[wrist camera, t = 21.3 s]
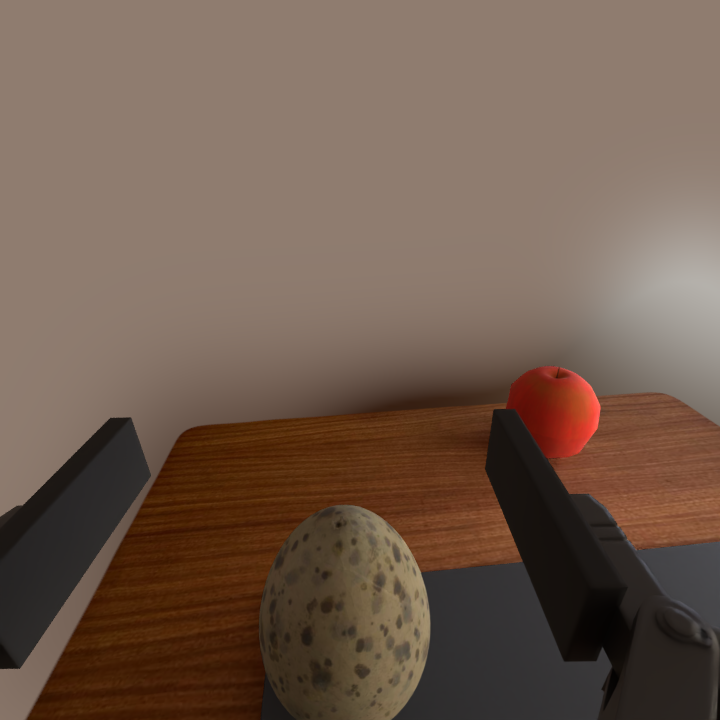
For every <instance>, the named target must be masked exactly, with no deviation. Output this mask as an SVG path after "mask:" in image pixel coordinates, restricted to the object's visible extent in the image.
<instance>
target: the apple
mask: <svg viewBox="0 0 720 720" xmlns="http://www.w3.org/2000/svg"><path fill="white" fill-rule="evenodd" d="M506 409H516V411H517V412H518V414H519V416H520V417H521V419H522V420H523V422H524V424H525V425H526V427H527V428H528V430H529V431H530V433H531V435H532V436H533V438H534V439H535V441H536V442H537V444H538V446H539V447H540V449H541V450H542V452H543V454H544V455H545V457H546V458H561V457H569V456H572V455H575V454H578V453H579V452H580V451H581V449H582V448H583V447H584V445H585V444H586V443H587V441H588V440H589V439H590V437H591V436H592V435H593V433H594V432H595V431H596V429H597V427H598V421H599V414H600V405H599V402H598V400H597V398H596V396H595V394H594V392H593V390H592V388H591V386H590V385H589V384H588V383H587V382H586V381H585V380H584V379H583V378H581V377H580V376H579V375H577V374H575V373H574V372H572V371H569V370H566V369H563V368H560V367H554V366H544V367H539V368H536V369H533V370H530V371H528V372H526V373H525V374H523V375H522V376H521V377H520V378H518V379H517V380H516V381H515V382H514V383H512V385H511V389H510V393H509V398H508V402H507V407H506Z"/></svg>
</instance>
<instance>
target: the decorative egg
mask: <svg viewBox="0 0 720 720" xmlns="http://www.w3.org/2000/svg"><path fill="white" fill-rule="evenodd" d="M259 639H260V649H261V655H262V659H263V664H264V667H265V671H266V673H267V677H268V679H269V681H270V684H271V686H272V688H273V690H274V692H275V694H276V696H277V697H278V699H279V700H280V702H281V703H282V705H283V706H284V707H285V708H286V710H287V711H288V712H289V713H290V714H291V715H292V716H293V717H294V718H295V719H296V720H391V719H392V718H394V717H395V716H396V715H397V714H398V712H399V711H400V710H401V709H402V708H403V707H404V706H405V705H406V703H407V702H408V700H409V699H410V697H411V696H412V694H413V692H414V690H415V689H416V687H417V685H418V682H419V680H420V678H421V675H422V673H423V670H424V666H425V663H426V659H427V654H428V649H429V641H430V611H429V603H428V597H427V593H426V588H425V585H424V582H423V578H422V576H421V573H420V570H419V568H418V565H417V563H416V561H415V559H414V557H413V555H412V553H411V552H410V550H409V548H408V546H407V545H406V543H405V542H404V540H403V539H402V538H401V536H400V535H399V534H398V533H397V532H396V531H395V529H394V528H393V527H392V526H391V525H389V524H388V523H387V522H386V521H385V520H384V519H382V518H381V517H379V516H378V515H376V514H375V513H373V512H371V511H369V510H366V509H364V508H361V507H357V506H353V505H337V506H332V507H328V508H325V509H323V510H320V511H318V512H316V513H315V514H313V515H311V516H310V517H309V518H307V519H306V520H305V521H303V522H302V523H301V524H300V525H299V526H298V527H297V528H296V529H295V530H294V531H293V532H292V533H291V535H290V536H289V537H288V538H287V540H286V541H285V543H284V544H283V546H282V547H281V549H280V551H279V552H278V554H277V556H276V558H275V560H274V562H273V564H272V567H271V569H270V572H269V575H268V577H267V580H266V584H265V587H264V591H263V596H262V601H261V608H260V617H259Z"/></svg>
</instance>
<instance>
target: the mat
mask: <svg viewBox="0 0 720 720" xmlns="http://www.w3.org/2000/svg"><path fill="white" fill-rule="evenodd" d="M636 551H637V552H638V553H639V555H640V556H641V558H642V559H643V560H644V562H645V563H646V565H647V566H648V567H649V569H650V570H651V572H652V573H653V574H654V576H655V577H656V579H657V580H658V581H659V583H660V584H661V586H662V587H663V588H664V590H665V591H666V592H667V594H668V595H669V596H670V597H671V598H673V599H675V600H678V601H681V602H682V603H684V604H685V605H687V606H689V607H690V608H692V609H693V610H695V611H696V612H697V613H698V614H699V615H700V616H701V617H702V618H703V619H704V620H705V621H706V622H707V623H708V624H710V625H713V626H715V627H718V628H720V542H712V543H702V544H692V545H683V546H673V547H663V548H654V549H644V550H636ZM421 576H422V578H423V582H424V585H425V588H426V593H427V597H428V603H429V611H430V641H429V649H428V654H427V659H426V663H425V666H424V670H423V673H422V675H421V678H420V680H419V682H418V685H417V687H416V689H415V690H414V692H413V694H412V696H411V697H410V699H409V700H408V702H407V703H406V705H405V706H404V707H403V708H402V709H401V710H400V711H399V712H398V714H397V715H396V716H395V717H394V718H392V719H391V720H598V716H599V712H600V708H601V704H602V700H603V696H604V691H603V690H601V689H602V687H603V685H604V682H605V680H606V678H607V676H608V674H609V672H610V669H611V667H612V665H611V663H610V661H609V659H608V657H607V655H606V653H605V651H604V649H603V647H602V650H601V652H600V654H599V657H598V659H597V661H589V662H564V661H563V658H562V656H561V653H560V651H559V649H558V646H557V644H556V641H555V639H554V636H553V634H552V631H551V629H550V626H549V624H548V622H547V619H546V617H545V614H544V612H543V609H542V607H541V604H540V602H539V600H538V597H537V595H536V592H535V590H534V587H533V585H532V582H531V580H530V578H529V575H528V573H527V570H526V568H525V565H524V563H523V562H519V563H509V564H499V565H490V566H480V567H470V568H461V569H451V570H441V571H432V572H422V573H421ZM261 720H296V719H295V718H294V717H293V716H292V715H291V714H290V713H289V712H288V711H287V710H286V708H285V707H284V706H283V705H282V703H281V702H280V700H279V699H278V697H277V696H276V694H275V692H274V690H273V688H272V686H271V684H270V681H269V679H268V677H267V673H266V674H265V683H264V692H263V701H262V711H261Z"/></svg>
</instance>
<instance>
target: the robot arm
mask: <svg viewBox="0 0 720 720" xmlns="http://www.w3.org/2000/svg"><path fill="white" fill-rule="evenodd" d="M485 470H486V472H487V475H488V477H489V480H490V482H491V485H492V487H493V489H494V492H495V494H496V497H497V499H498V502H499V504H500V507H501V509H502V511H503V514H504V516H505V519H506V521H507V524H508V526H509V529H510V531H511V533H512V536H513V538H514V541H515V543H516V546H517V548H518V551H519V553H520V556H521V558H522V560H523V563H524V565H525V568H526V570H527V573H528V575H529V578H530V580H531V582H532V585H533V587H534V590H535V592H536V595H537V597H538V600H539V602H540V604H541V607H542V609H543V612H544V614H545V617H546V619H547V622H548V624H549V626H550V629H551V631H552V634H553V636H554V639H555V641H556V644H557V646H558V649H559V651H560V653H561V656H562V658H563V661H564V662H589V661H597V659H598V657H599V654H600V652H601V650H602V647H603V649H604V651H605V653H606V655H607V657H608V659H609V661H610V663H611V665H612V667H611V669H610V672H609V674H608V676H607V678H606V680H605V682H604V685H603V687H602V689H601V690H603V691H604V696H603V700H602V704H601V708H600V712H599V716H598V720H720V628H718V627H715V626H713V625H710V624H708V623H707V622H706V621H705V620H704V619H703V618H702V617H701V616H700V615H699V614H698V613H697V612H696V611H695V610H693V609H692V608H690V607H689V606H687V605H685V604H684V603H682V602H681V601H678V600H675V599H673V598H671V597H670V596H669V595H668V594H667V592H666V591H665V590H664V588H663V587H662V586H661V584H660V583H659V581H658V580H657V579H656V577H655V576H654V574H653V573H652V572H651V570H650V569H649V567H648V566H647V565H646V563H645V562H644V560H643V559H642V558H641V556H640V555H639V553H638V552H637V551H636V549H635V548H634V546H633V545H632V544H631V542H630V541H628V540H627V537H626V535H625V534H624V532H623V531H622V530H621V528H620V527H618V526H617V523H616V521H615V520H614V518H613V517H612V516H611V514H610V513H609V511H608V510H607V509H606V507H604V506H603V505H602V504H601V503H599V502H598V501H597V500H596V499H594V498H593V497H592V496H591V495H589V494H569V493H568V491H567V490H566V488H565V487H564V485H563V484H562V482H561V480H560V479H559V477H558V476H557V474H556V472H555V471H554V469H553V468H552V466H551V465H550V463H549V461H548V460H547V458H546V457H545V455H544V454H543V452H542V450H541V449H540V447H539V446H538V444H537V442H536V441H535V439H534V438H533V436H532V435H531V433H530V431H529V430H528V428H527V427H526V425H525V424H524V422H523V420H522V419H521V417H520V416H519V414H518V412H517V411H516V409H494V411H493V418H492V425H491V432H490V439H489V445H488V452H487V459H486V466H485ZM150 476H151V474H150V471H149V468H148V465H147V462H146V460H145V457H144V454H143V451H142V448H141V445H140V442H139V439H138V436H137V434H136V431H135V428H134V425H133V422H132V419H131V418H110V419H109V420H108V421H107V422H106V423H105V424H104V425H103V426H102V427H101V428H100V429H99V430H98V431H97V432H96V433H95V434H94V435H93V436H92V437H91V438H90V439H89V440H88V441H87V442H86V443H85V444H84V445H83V446H82V447H81V448H80V449H79V450H78V451H77V452H76V453H75V454H74V455H73V456H72V457H71V458H70V459H69V460H68V461H67V462H66V463H65V464H64V465H63V466H62V467H61V468H60V469H59V470H58V471H57V472H56V473H55V474H54V475H53V476H52V477H51V478H50V479H49V480H48V481H47V482H46V483H45V484H44V485H43V486H42V487H41V488H40V489H39V490H38V491H37V492H36V493H35V494H34V495H33V496H32V497H31V498H30V499H29V500H28V501H27V502H26V503H25V504H24V505H23V506H16V507H14V508H13V509H11V510H10V511H8V512H7V513H5V514H4V515H2V516H1V517H0V669H18V668H19V669H20V668H21V666H22V665H23V663H24V662H25V660H26V659H27V657H28V656H29V655H30V653H31V652H32V650H33V649H34V647H35V646H36V644H37V643H38V641H39V640H40V638H41V637H42V635H43V634H44V632H45V631H46V630H47V628H48V627H49V625H50V624H51V622H52V621H53V619H54V618H55V616H56V615H57V613H58V612H59V610H60V609H61V607H62V606H63V605H64V603H65V602H66V600H67V599H68V597H69V596H70V594H71V593H72V591H73V590H74V588H75V587H76V585H77V584H78V582H79V581H80V580H81V578H82V577H83V575H84V573H85V572H86V571H87V569H88V568H89V566H90V565H91V563H92V562H93V560H94V559H95V557H96V556H97V554H98V553H99V551H100V550H101V548H102V547H103V546H104V544H105V543H106V541H107V540H108V538H109V537H110V535H111V534H112V532H113V531H114V529H115V528H116V526H117V525H118V524H119V522H120V521H121V519H122V518H123V516H124V515H125V513H126V512H127V510H128V509H129V507H130V506H131V504H132V503H133V501H134V500H135V498H136V497H137V496H138V494H139V493H140V491H141V490H142V488H143V487H144V485H145V484H146V482H147V481H148V479H149V478H150Z"/></svg>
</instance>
